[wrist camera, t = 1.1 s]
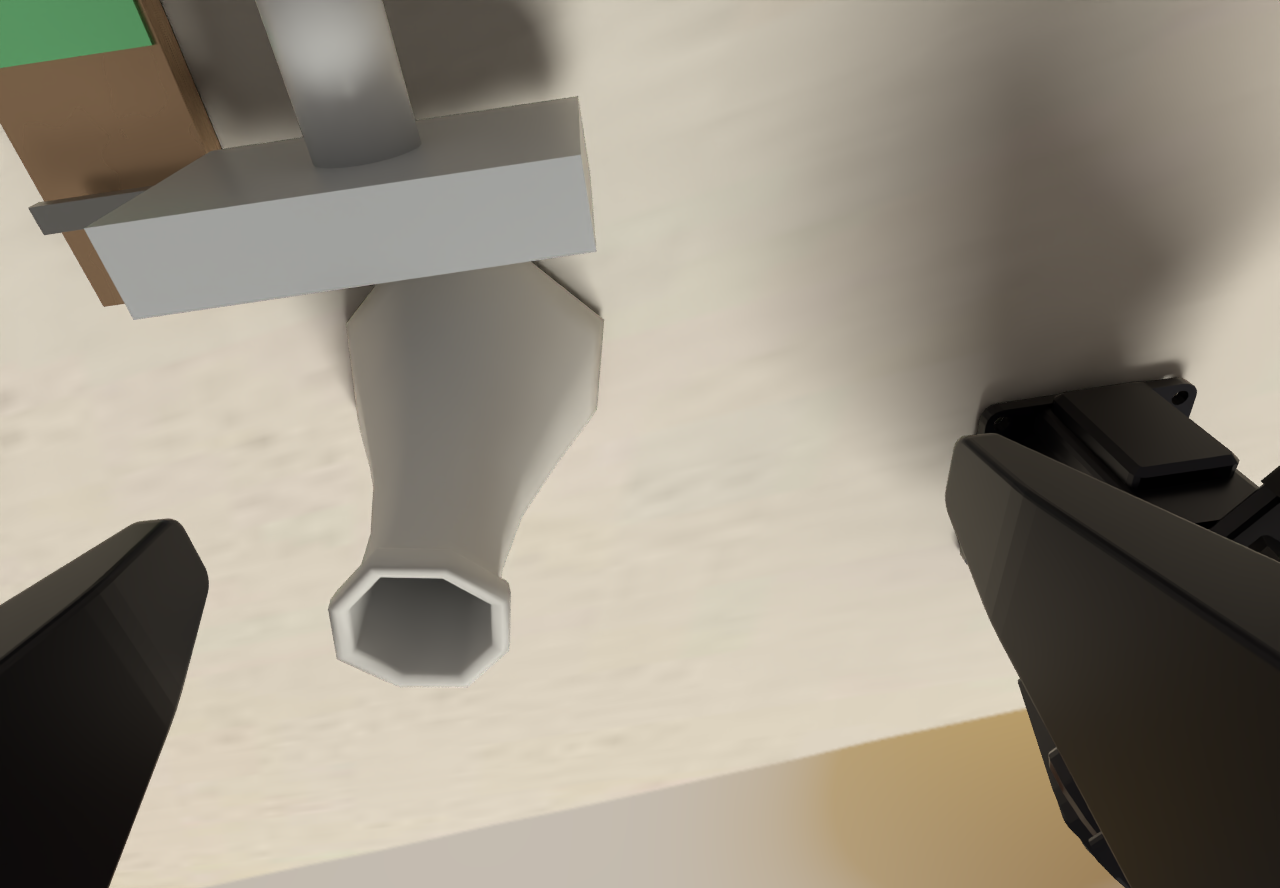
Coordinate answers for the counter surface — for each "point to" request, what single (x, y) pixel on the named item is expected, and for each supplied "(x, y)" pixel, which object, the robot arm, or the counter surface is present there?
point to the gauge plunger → (343, 185)
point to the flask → (456, 459)
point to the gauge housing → (97, 103)
